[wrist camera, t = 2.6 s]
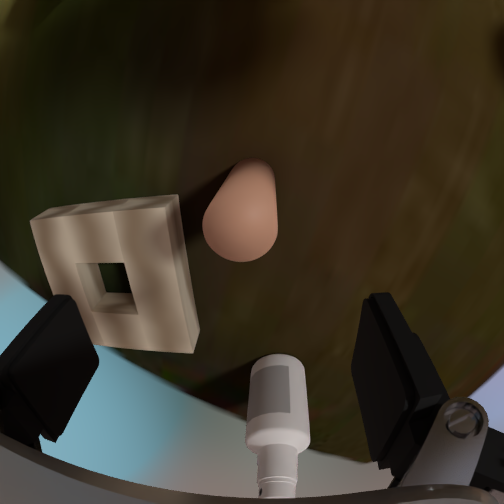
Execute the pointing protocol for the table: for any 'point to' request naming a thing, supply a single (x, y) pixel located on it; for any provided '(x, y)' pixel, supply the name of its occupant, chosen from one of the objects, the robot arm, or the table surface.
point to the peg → (243, 213)
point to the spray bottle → (277, 422)
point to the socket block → (137, 267)
